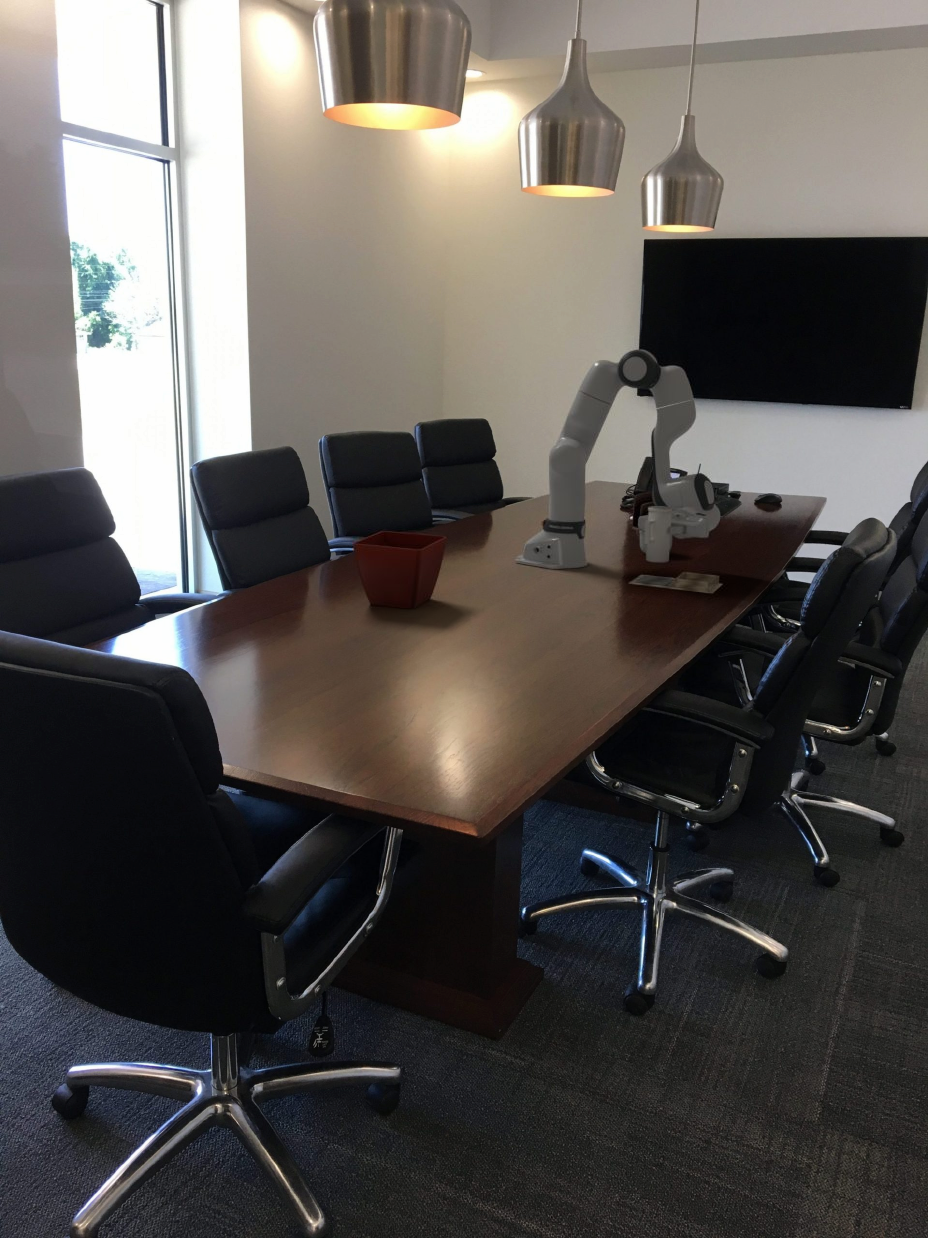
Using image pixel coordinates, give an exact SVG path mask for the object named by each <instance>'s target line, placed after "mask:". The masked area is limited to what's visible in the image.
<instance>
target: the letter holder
mask: <svg viewBox="0 0 928 1238" xmlns="http://www.w3.org/2000/svg"><path fill="white" fill-rule="evenodd" d="M651 506H655V504H654V502H653V499H652V491H647V492H641V493H638V494H636V495H635V496H634V497H633V507H632V521H631V530H632V531H633V530H634V531H637V532H639V531H640V530H643V529H639V527H638V520H639V517H640V516H646V515H649V511H648V507H651Z"/></svg>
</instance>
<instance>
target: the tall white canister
mask: <svg viewBox="0 0 928 1238" xmlns="http://www.w3.org/2000/svg"><path fill="white" fill-rule="evenodd" d="M648 511H649V515H648V520H647V521H645V539H644V543H645V544H647V551H646V553H645V560H646V561H647V562H650V563H667V562H669V560H670V550H669V548H670V534H669V533H667V531H668V530H667V528H668V527H671V515H672V511H673V508H671V507H666V506H651V507H648Z"/></svg>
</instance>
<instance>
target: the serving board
mask: <svg viewBox="0 0 928 1238" xmlns="http://www.w3.org/2000/svg"><path fill="white" fill-rule="evenodd" d="M628 584H630V585H631V584H632V585H639V586H645V587H646V586H648V587H654V588H655V587H656V588H663V589H671V590H680V591H688V592H690V591H691V592H696V593H697V592H699V593H705V594H714V593H715V592H716V591H717V590H718V589H719V588H720V587H721V586H723V583H720V575H716V574H715V575H714V574H705V573H696V572H690V571H689V572H688V571H683V572H682V573H680V574H679V575H678V576H677V577H675V578H674V577H667V576H666V577H665V576H658V575H656V576H655V575H650V574H640V575H637V577H635V578H634V579H632V580H631V581H629V582H628Z"/></svg>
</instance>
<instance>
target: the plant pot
mask: <svg viewBox="0 0 928 1238" xmlns="http://www.w3.org/2000/svg"><path fill="white" fill-rule="evenodd" d="M446 545H447V536H444V535H434V534H433V535H432V534H423V533H413V532H412V533H411V532H399V531H392V530H391V531H390V530H383V531H382V530H381V531H379V532H377V533H375V534H372V535H369V536H367V537H364V538H361V539H360V540H357V541H355V542H353V543H352V547H353V552H354V558H355V563H356V567H357V571H358V574H359V578H360V580H361V585H362V587H363V590H364V592H365V595H366V598H367V601H368V602H369V604H370V605H372V606H373V605H374V606H382V607H383V606H385V607H391V608H398V609H399V608H401V609H409V610H410V609H411V610H413V609H417V607H420V606H421V605H423V604H424V603H425V602H427V601H429V600H431V599H432V596H433V594H434V590H435V587H436V585H437V581H438V578H439V576H440V575H439V574H440V571H441V568H442V564H443V559H444V554H445V549H446Z"/></svg>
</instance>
